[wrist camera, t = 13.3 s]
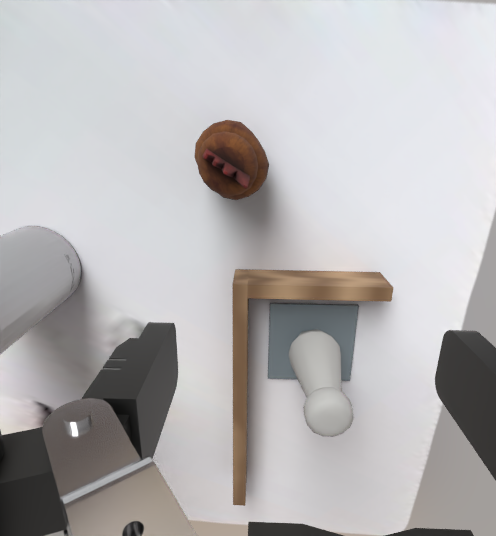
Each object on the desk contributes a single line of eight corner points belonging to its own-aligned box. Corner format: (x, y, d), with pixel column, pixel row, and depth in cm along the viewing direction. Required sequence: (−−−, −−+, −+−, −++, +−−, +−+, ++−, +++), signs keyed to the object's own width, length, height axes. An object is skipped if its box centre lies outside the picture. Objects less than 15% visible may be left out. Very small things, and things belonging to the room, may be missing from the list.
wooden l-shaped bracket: (235, 475, 52) (233, 505, 48) (235, 269, 43) (232, 284, 38) (352, 479, 52) (360, 509, 48) (379, 272, 42) (393, 287, 38)
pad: (267, 376, 47) (267, 378, 47) (270, 302, 44) (270, 304, 44) (349, 379, 47) (349, 380, 47) (357, 304, 44) (358, 306, 43)
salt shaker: (310, 312, 44) (330, 382, 31) (347, 341, 45) (379, 419, 33) (277, 346, 45) (283, 425, 33) (313, 373, 46) (332, 459, 34)
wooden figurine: (277, 168, 39) (287, 188, 25) (232, 201, 40) (216, 237, 26) (238, 110, 37) (225, 95, 23) (192, 146, 38) (153, 152, 24)
